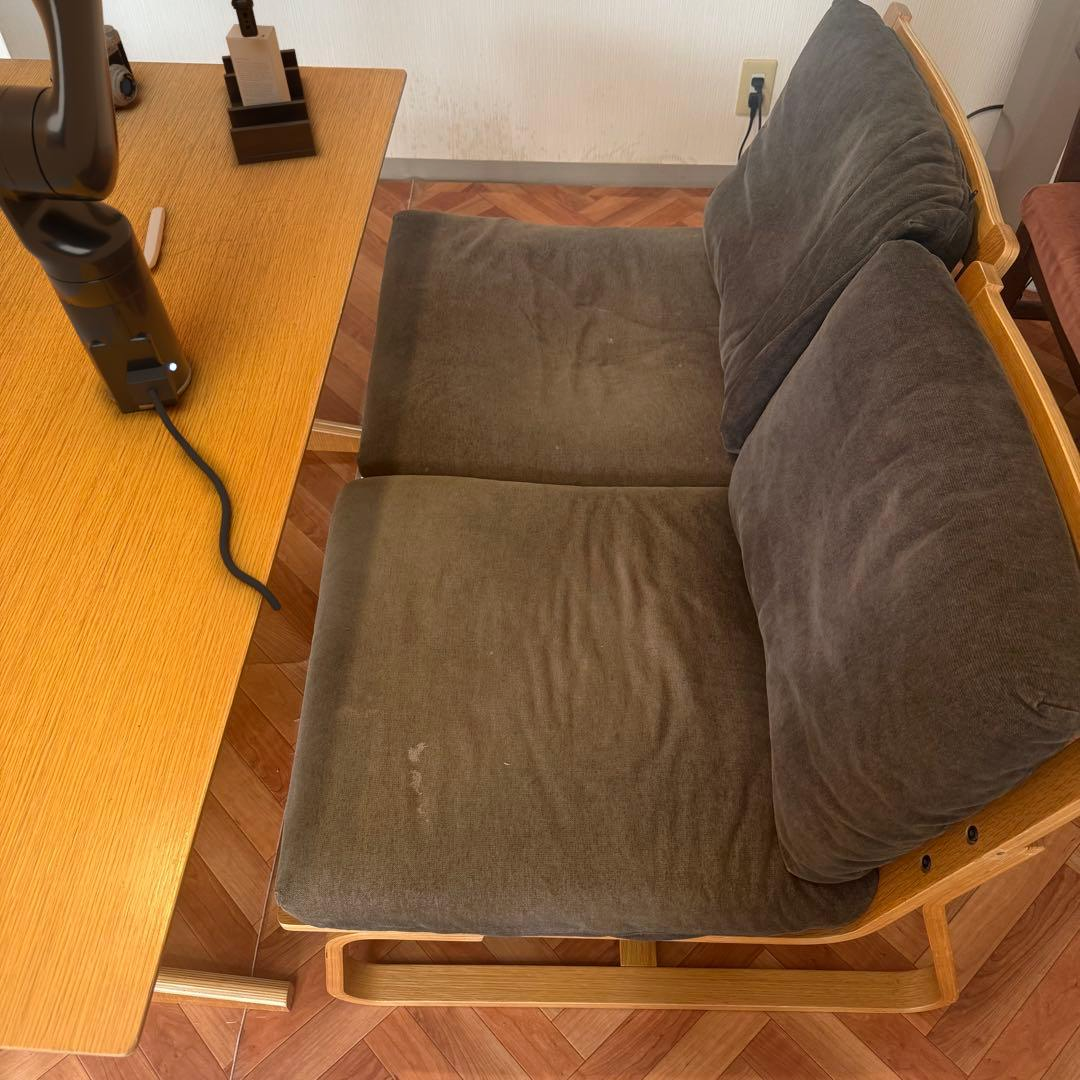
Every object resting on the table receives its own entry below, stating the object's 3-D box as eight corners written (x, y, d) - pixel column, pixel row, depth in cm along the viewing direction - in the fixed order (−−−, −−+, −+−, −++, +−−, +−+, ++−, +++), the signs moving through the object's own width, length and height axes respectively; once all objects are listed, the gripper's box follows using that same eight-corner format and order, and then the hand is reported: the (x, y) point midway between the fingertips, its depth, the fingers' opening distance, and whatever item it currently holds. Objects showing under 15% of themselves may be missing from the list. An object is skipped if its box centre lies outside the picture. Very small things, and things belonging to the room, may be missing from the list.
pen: (144, 278, 112) (139, 267, 111) (155, 212, 121) (151, 201, 119) (157, 277, 113) (152, 266, 111) (168, 211, 121) (164, 200, 119)
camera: (104, 136, 131) (77, 67, 123) (64, 128, 132) (35, 59, 124) (159, 88, 139) (137, 20, 131) (121, 80, 141) (97, 13, 132)
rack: (316, 155, 129) (309, 122, 125) (238, 165, 128) (229, 131, 123) (301, 80, 142) (294, 48, 138) (230, 88, 140) (221, 55, 136)
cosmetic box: (293, 108, 135) (276, 25, 125) (286, 123, 132) (267, 39, 123) (254, 106, 135) (233, 22, 125) (246, 121, 133) (224, 36, 123)
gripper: (183, -136, 113) (218, 1, 126) (186, -94, 105) (223, 48, 118) (243, -140, 115) (271, -4, 128) (251, -99, 107) (280, 43, 120)
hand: (248, 21), depth 123 cm, fingers open, 8 cm apart
